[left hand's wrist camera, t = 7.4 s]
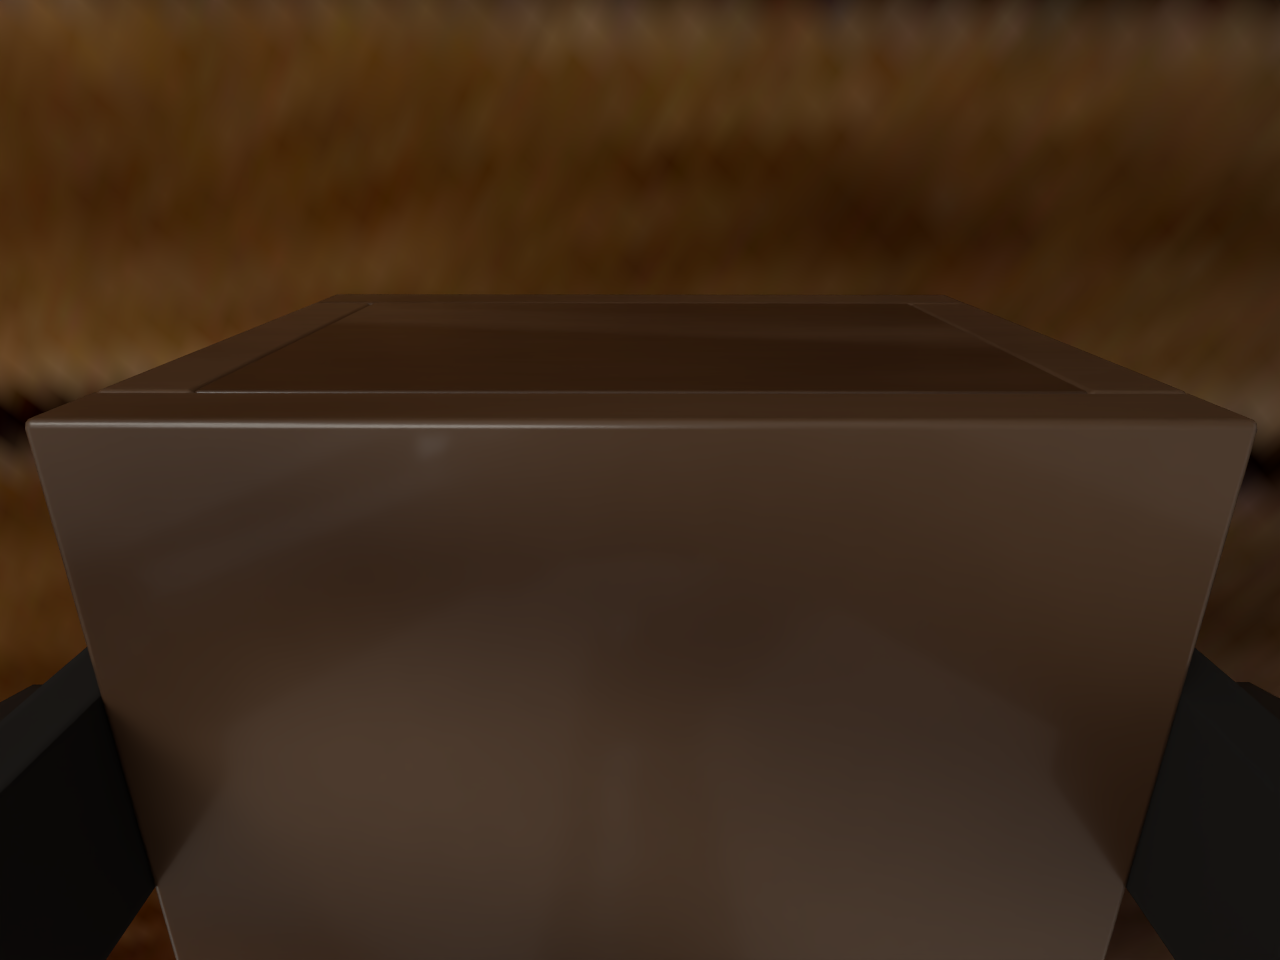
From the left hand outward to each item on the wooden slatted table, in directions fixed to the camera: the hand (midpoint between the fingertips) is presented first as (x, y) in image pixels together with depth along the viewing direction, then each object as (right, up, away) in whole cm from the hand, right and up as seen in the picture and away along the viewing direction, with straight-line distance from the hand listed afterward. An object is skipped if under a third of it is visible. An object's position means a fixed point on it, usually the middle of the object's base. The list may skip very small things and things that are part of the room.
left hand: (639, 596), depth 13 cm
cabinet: (0, -4, +5) cm, 7 cm away
